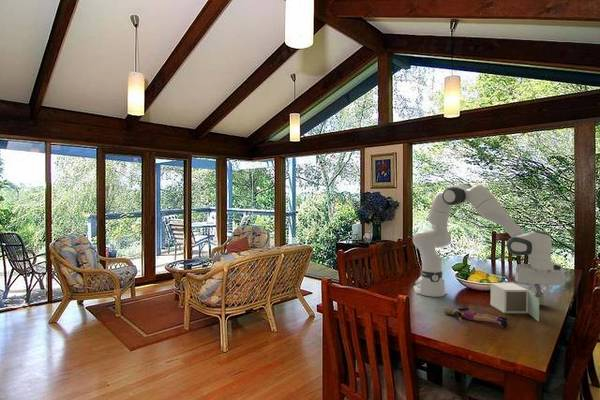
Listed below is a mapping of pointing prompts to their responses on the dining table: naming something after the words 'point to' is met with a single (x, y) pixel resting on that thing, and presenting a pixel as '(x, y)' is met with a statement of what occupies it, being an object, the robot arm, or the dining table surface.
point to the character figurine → (474, 316)
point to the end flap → (534, 303)
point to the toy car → (541, 299)
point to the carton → (509, 298)
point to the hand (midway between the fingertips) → (538, 293)
